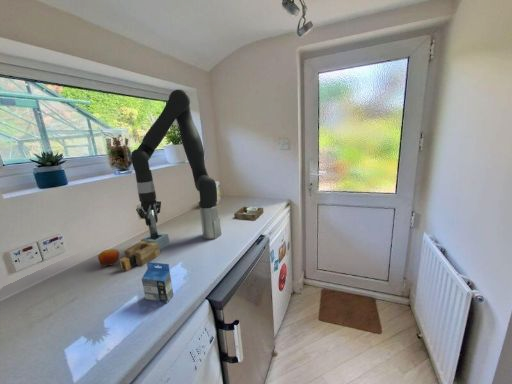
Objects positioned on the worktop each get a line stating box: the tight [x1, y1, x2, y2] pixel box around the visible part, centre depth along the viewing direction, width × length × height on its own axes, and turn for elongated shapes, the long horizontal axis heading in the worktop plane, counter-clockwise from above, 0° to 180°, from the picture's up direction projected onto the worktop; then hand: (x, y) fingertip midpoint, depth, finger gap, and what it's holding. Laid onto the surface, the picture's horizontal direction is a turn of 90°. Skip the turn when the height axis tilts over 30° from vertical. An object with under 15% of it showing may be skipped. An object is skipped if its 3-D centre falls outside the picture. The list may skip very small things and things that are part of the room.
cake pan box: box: [214, 180, 221, 205], centre depth 182 cm, size 19×5×18 cm, turn 168°
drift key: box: [119, 253, 137, 272], centre depth 100 cm, size 3×8×5 cm, turn 158°
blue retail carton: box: [141, 261, 174, 303], centre depth 77 cm, size 9×4×12 cm, turn 77°
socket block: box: [123, 240, 161, 267], centre depth 106 cm, size 10×10×6 cm
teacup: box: [246, 206, 259, 214], centre depth 155 cm, size 10×10×5 cm
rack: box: [140, 232, 170, 251], centre depth 117 cm, size 9×9×6 cm
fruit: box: [97, 248, 120, 268], centre depth 102 cm, size 8×8×8 cm
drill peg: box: [146, 209, 159, 240], centre depth 114 cm, size 4×4×15 cm
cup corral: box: [233, 206, 264, 221], centre depth 155 cm, size 15×15×4 cm
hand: (152, 223), depth 114 cm, fingers closed on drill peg, 3 cm apart
